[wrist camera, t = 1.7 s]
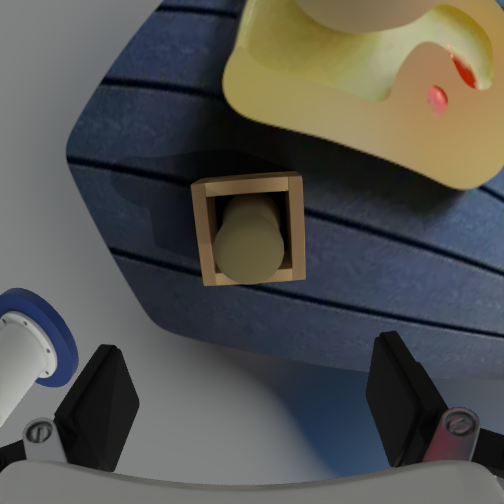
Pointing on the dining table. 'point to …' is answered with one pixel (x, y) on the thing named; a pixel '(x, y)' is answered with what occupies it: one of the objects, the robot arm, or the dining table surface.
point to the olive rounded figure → (249, 239)
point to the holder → (244, 184)
